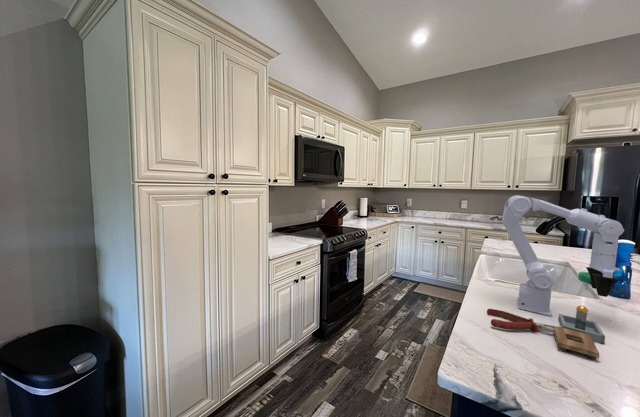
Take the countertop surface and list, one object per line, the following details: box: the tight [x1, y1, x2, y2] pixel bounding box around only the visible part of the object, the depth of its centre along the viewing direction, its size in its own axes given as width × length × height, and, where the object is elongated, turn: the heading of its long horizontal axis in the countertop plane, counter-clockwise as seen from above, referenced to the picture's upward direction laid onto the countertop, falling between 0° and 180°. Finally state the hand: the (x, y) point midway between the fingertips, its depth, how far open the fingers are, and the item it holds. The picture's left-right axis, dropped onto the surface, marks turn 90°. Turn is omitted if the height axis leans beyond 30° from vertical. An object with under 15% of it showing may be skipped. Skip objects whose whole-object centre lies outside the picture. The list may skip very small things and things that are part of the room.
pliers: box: [486, 308, 555, 334], centre depth 84 cm, size 12×20×3 cm, turn 63°
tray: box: [557, 313, 606, 345], centre depth 83 cm, size 9×10×2 cm
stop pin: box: [575, 305, 589, 330], centre depth 82 cm, size 3×3×8 cm
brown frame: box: [553, 325, 600, 360], centre depth 75 cm, size 8×11×2 cm
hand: (599, 292), depth 89 cm, fingers open, 7 cm apart
